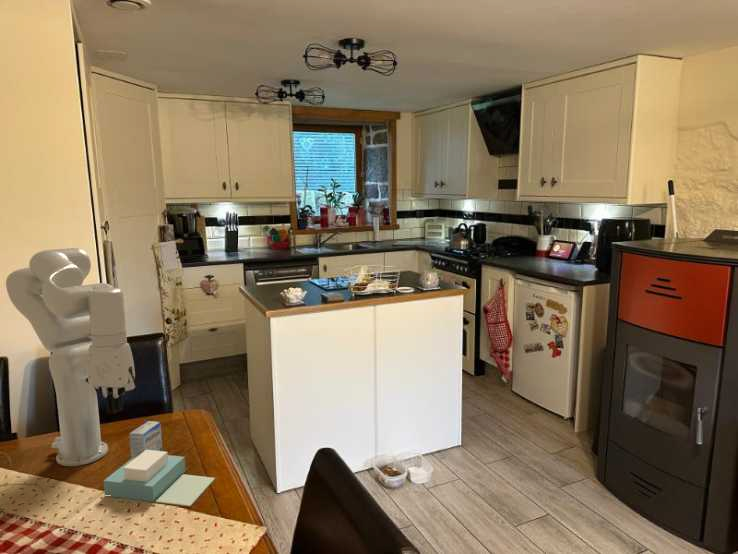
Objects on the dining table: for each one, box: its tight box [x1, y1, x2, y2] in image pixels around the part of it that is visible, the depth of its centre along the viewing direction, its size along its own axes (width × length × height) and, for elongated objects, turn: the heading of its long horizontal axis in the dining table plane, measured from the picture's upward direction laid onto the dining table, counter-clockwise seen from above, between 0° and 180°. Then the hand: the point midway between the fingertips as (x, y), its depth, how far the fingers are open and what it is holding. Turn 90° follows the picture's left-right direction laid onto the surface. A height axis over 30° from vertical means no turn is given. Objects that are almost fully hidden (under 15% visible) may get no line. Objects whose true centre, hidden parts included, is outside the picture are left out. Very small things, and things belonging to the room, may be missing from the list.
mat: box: [154, 473, 216, 508], centre depth 126 cm, size 9×12×1 cm
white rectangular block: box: [124, 450, 169, 482], centre depth 127 cm, size 6×9×3 cm, turn 169°
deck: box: [103, 452, 186, 503], centre depth 129 cm, size 13×14×4 cm
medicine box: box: [129, 420, 163, 460], centre depth 141 cm, size 8×4×9 cm, turn 168°
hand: (115, 410), depth 126 cm, fingers closed
